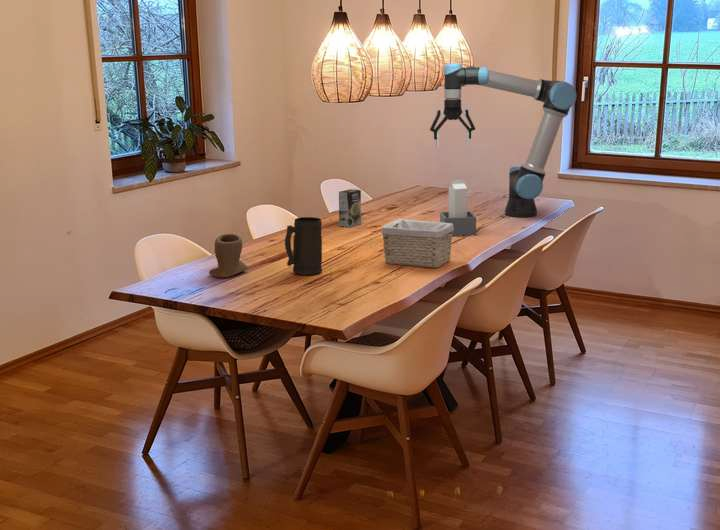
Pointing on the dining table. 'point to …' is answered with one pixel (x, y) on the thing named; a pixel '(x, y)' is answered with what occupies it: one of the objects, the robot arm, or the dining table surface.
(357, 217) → the coffee box
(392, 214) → the dining table surface
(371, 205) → the dining table surface
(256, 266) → the dining table surface
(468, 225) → the tray
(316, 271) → the beer stein
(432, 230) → the storage basket
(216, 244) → the stone cup
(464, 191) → the milk
